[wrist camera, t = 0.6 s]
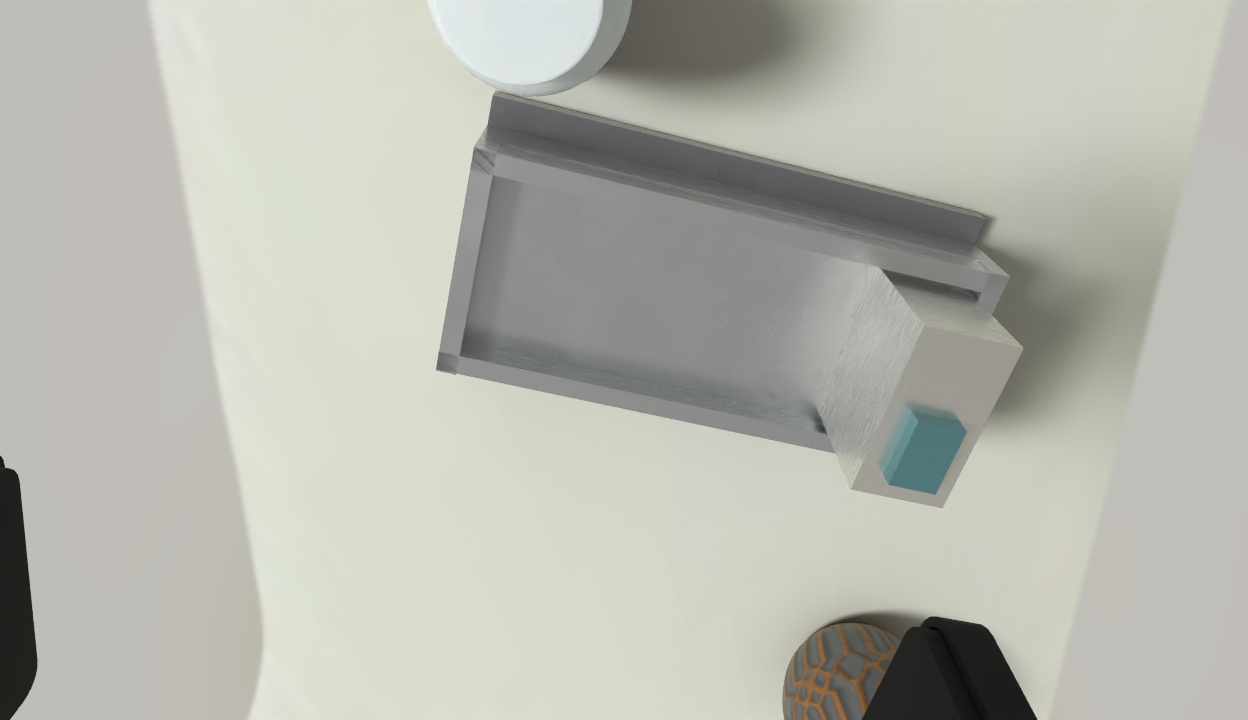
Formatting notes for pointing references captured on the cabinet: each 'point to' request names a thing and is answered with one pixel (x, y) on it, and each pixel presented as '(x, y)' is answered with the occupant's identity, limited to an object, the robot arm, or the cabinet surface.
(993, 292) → the grey tray
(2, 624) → the robot arm
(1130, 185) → the cabinet surface
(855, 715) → the vase
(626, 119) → the cabinet surface
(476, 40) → the pill bottle
